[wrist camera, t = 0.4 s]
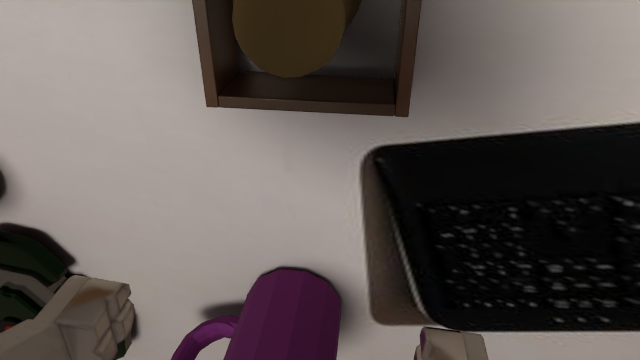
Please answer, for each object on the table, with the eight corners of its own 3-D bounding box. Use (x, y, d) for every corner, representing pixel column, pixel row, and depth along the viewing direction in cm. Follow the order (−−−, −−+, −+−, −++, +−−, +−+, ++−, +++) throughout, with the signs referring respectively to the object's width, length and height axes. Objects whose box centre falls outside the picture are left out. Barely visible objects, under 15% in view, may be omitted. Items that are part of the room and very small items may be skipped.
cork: (301, 54, 31) (265, 117, 21) (250, -28, 28) (185, 2, 19) (379, 7, 29) (378, 54, 19) (331, -86, 26) (302, -84, 17)
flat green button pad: (55, 374, 55) (30, 409, 51) (-75, 277, 48) (-115, 309, 44) (154, 328, 48) (134, 365, 44) (18, 209, 41) (-20, 240, 37)
